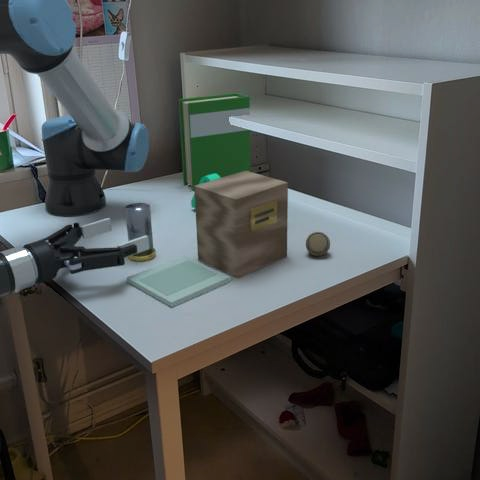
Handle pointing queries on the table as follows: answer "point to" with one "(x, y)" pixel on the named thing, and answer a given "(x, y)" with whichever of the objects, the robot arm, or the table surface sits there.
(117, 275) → the table surface
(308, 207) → the table surface
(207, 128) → the hardback book
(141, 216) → the grey glass cylinder
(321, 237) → the door knob
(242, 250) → the block
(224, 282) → the pad
